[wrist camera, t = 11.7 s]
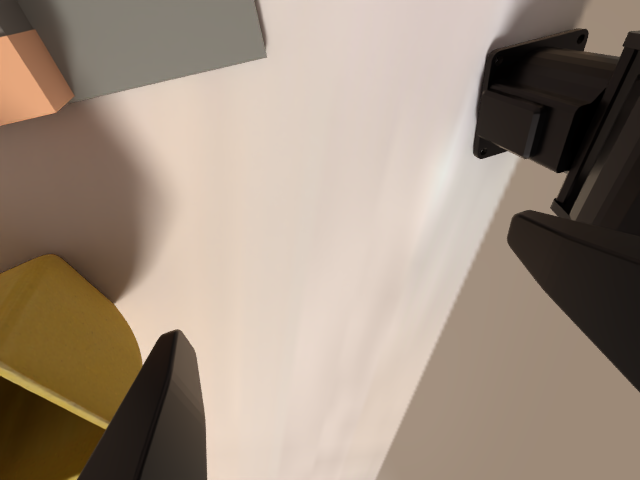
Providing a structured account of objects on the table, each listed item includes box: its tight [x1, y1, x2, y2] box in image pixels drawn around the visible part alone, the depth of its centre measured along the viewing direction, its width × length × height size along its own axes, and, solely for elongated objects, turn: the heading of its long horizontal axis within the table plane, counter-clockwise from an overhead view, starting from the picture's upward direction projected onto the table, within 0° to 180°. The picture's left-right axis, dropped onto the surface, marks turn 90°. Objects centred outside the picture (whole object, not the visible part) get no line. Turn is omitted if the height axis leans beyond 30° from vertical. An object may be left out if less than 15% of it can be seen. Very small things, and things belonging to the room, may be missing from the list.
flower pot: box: [0, 254, 143, 480], centre depth 16 cm, size 9×9×9 cm
